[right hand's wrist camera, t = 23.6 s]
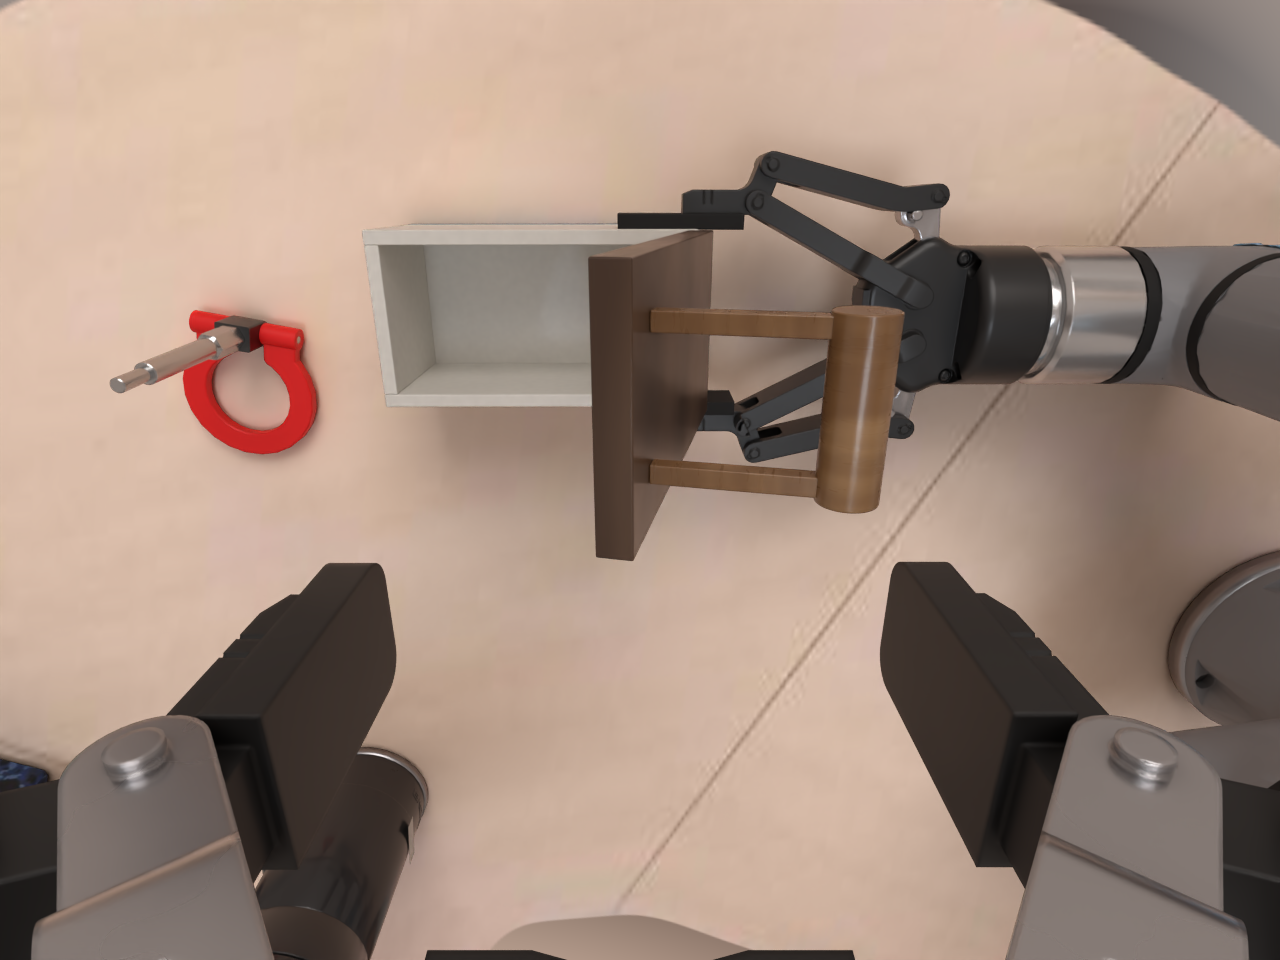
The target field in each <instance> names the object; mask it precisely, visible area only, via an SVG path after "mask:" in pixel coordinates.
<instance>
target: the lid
mask: <svg viewBox="0 0 1280 960" xmlns="http://www.w3.org/2000/svg"><path fill="white" fill-rule="evenodd" d="M712 251H713V231H712V230H688V231H684V232H681V233H677V234H673V235H669V236H665V237H662V238H658V239H654V240H650V241H646V242H643V243H639V244H635V245H631V246H627V247H624V248H620V249H616V250H612V251H609V252H605V253H601V254H597V255H593V256H590V257H588V280H589V317H590V354H591V392H592V429H593V466H594V503H595V541H596V557H599V558H608V559H617V560H627V561H633V560H634V558H635V556H636V554H637V552H638V550H639V548H640V546H641V544H642V542H643V540H644V538H645V536H646V534H647V532H648V530H649V528H650V526H651V524H652V521H653V519H654V517H655V515H656V513H657V511H658V509H659V507H660V505H661V503H662V501H663V499H664V497H665V495H666V493H667V491H668V489H669V487H670V486H680V487H692V488H704V489H716V490H728V491H740V492H752V493H764V494H776V495H788V496H800V497H812V498H814V500H815V502H816V503H817V504H818V505H820V506H822V507H824V508H826V509H829V510H832V511H836V512H842V513H866V512H870V511H873V510H875V509H876V508H877V507H878V505H879V500H880V493H881V485H882V478H883V471H884V463H885V456H886V449H887V441H888V434H889V427H890V419H891V412H892V405H893V397H894V390H895V383H896V375H897V368H898V361H899V353H900V346H901V339H902V331H903V324H904V317H905V313H904V311H902V310H899V309H895V308H889V307H880V306H841V307H836V308H833V309H832V311H831V313H821V312H789V311H758V310H726V309H710V308H711V279H712ZM710 335H722V336H748V337H773V338H799V339H825V340H829V342H828V352H827V362H826V372H825V382H824V393H823V403H822V413H821V423H820V433H819V444H818V454H817V464H816V471H808V470H794V469H781V468H768V467H755V466H742V465H729V464H716V463H702V462H689V461H682V460H683V458H684V456H685V454H686V452H687V450H688V448H689V446H690V444H691V442H692V440H693V438H694V436H695V434H696V432H697V429H698V427H699V425H700V423H701V421H702V419H703V417H704V415H705V413H706V411H707V392H708V364H709V336H710Z"/></svg>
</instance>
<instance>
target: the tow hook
mask: <svg viewBox="0 0 1280 960" xmlns="http://www.w3.org/2000/svg"><path fill="white" fill-rule="evenodd" d="M189 325H190V329H191V330H192V331H193V332H196V333H197V340H196V341H194V342H191V343H189V344H186V345H184V346H181V347H179V348H176V349H174V350H171V351H168V352H166V353H163V354H161V355H158V356H156V357H153V358H151V359H148V360H146V361H143V362H141V363H138V364H137V365H136V366H135V368H134V370H132V371H130V372H127V373H125V374H123V375H120V376H118V377H115V378H113V379H111V380H110V387H111V388H112V390H114V391H115V392H117V393H123V392H126V391H128V390H130V389H133V388H135V387H137V386H139V385H142V384H146V385H152V384H155V383H157V382H159V381H161V380H164V379H166V378H168V377H170V376H173V375H175V374H177V373H179V372H181V371H184V374H183V383H184V391H185V396H186V398H187V401H188V403H189V406H190V408H191V410H192V412H193V413H194V415H195V416H196V418H197V419H198V420H199V422H200V423H201V425H202V426H203V427H205V428H206V429H207V430H208V431H209V432H210V433H211V434H212V435H213V436H214V437H215V438H217V439H219V440H220V441H222V442H224V443H225V444H227V445H228V446H230V447H233V448H236V449H239V450H241V451H244V452H249V453H256V454H269V453H278V452H280V451H282V450H285V449H287V448H290V447H292V446H293V445H294V444H295V443H297V442H298V441H299V440H300V439H301V438H303V437H304V436H305V435H306V434H307V432H308V431H309V429H310V427H311V426H312V424H313V422H314V418H315V414H316V410H317V404H316V392H315V389H314V386H313V383H312V380H311V377H310V375H309V374H308V372H307V370H306V369H305V367H304V365H303V364H302V362H301V361H300V349H301V348H302V346H303V342H304V334H303V331H302V330H301V329H296V328H291V327H285V326H280V325H274V324H269V323H267V322H265V321H261V320H256V319H250V318H245V317H239V316H225V315H220V314H214V313H209V312H203V311H198V310H195V311H193V312H192V313H191V315H190V318H189ZM262 346H264V360H265V362H266V363H267V364H268V365H269V366H271V367H272V368H273V369H274V370H275V371H276V372H277V373H278V374H279V375H280V377H281V378H282V380H283V381H284V383H285V385H286V387H287V390H288V393H289V396H290V409H289V413H288V416H287V418H286V419H285V421H284V423H283V424H282V425H280V426H279V427H277V428H274V429H272V430H264V431H260V430H252V429H249V428H246V427H244V426H241V425H239V424H238V423H236V422H235V421H233V420H231V419H230V418H229V417H228V416H227V415H226V414H225V413H224V412H223V411H222V409H221V408H220V406H219V405H218V404H217V402H216V399H215V397H214V394H213V391H212V383H211V381H212V375H213V371H214V369H215V368H216V366H217V364H218V363H219V362H220V361H221V360H222V359H223V358H225V357H227V356H229V355H231V354H232V353H233V352H236V351H242V352H248V353H249V352H251V351H253V350H255V349H257V348H260V347H262Z"/></svg>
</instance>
